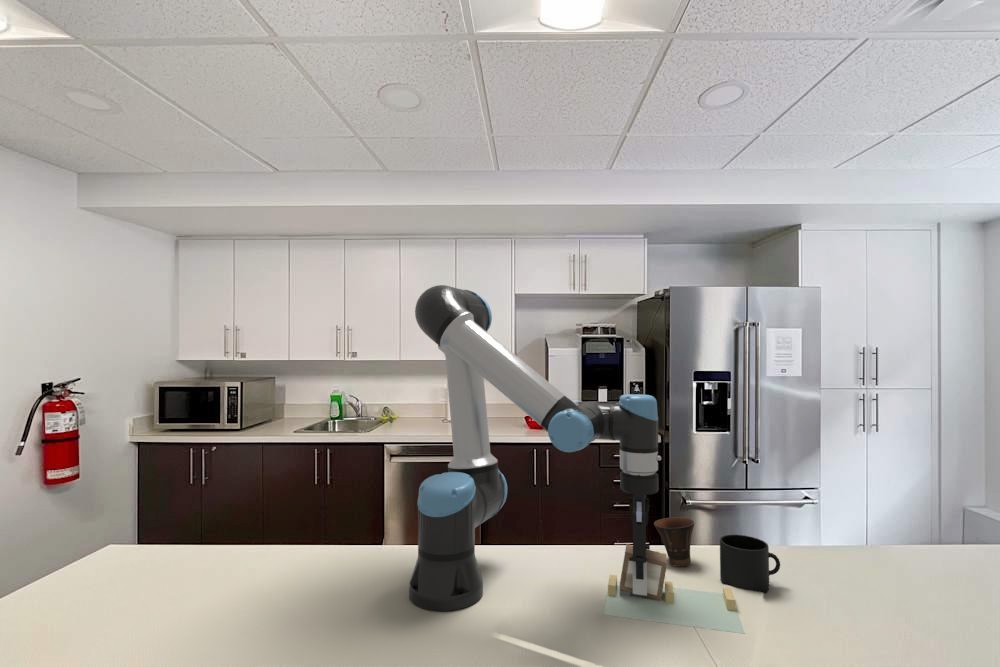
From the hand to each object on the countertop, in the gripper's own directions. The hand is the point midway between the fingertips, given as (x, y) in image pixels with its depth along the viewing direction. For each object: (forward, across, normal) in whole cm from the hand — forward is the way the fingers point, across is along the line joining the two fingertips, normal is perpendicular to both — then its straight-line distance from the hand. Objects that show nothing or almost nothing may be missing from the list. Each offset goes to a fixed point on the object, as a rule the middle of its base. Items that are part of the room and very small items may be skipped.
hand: (640, 587), depth 104 cm
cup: (+2, +20, -8) cm, 22 cm away
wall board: (+2, -3, -6) cm, 7 cm away
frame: (0, 0, 0) cm, 0 cm away
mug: (+2, +12, -23) cm, 26 cm away
